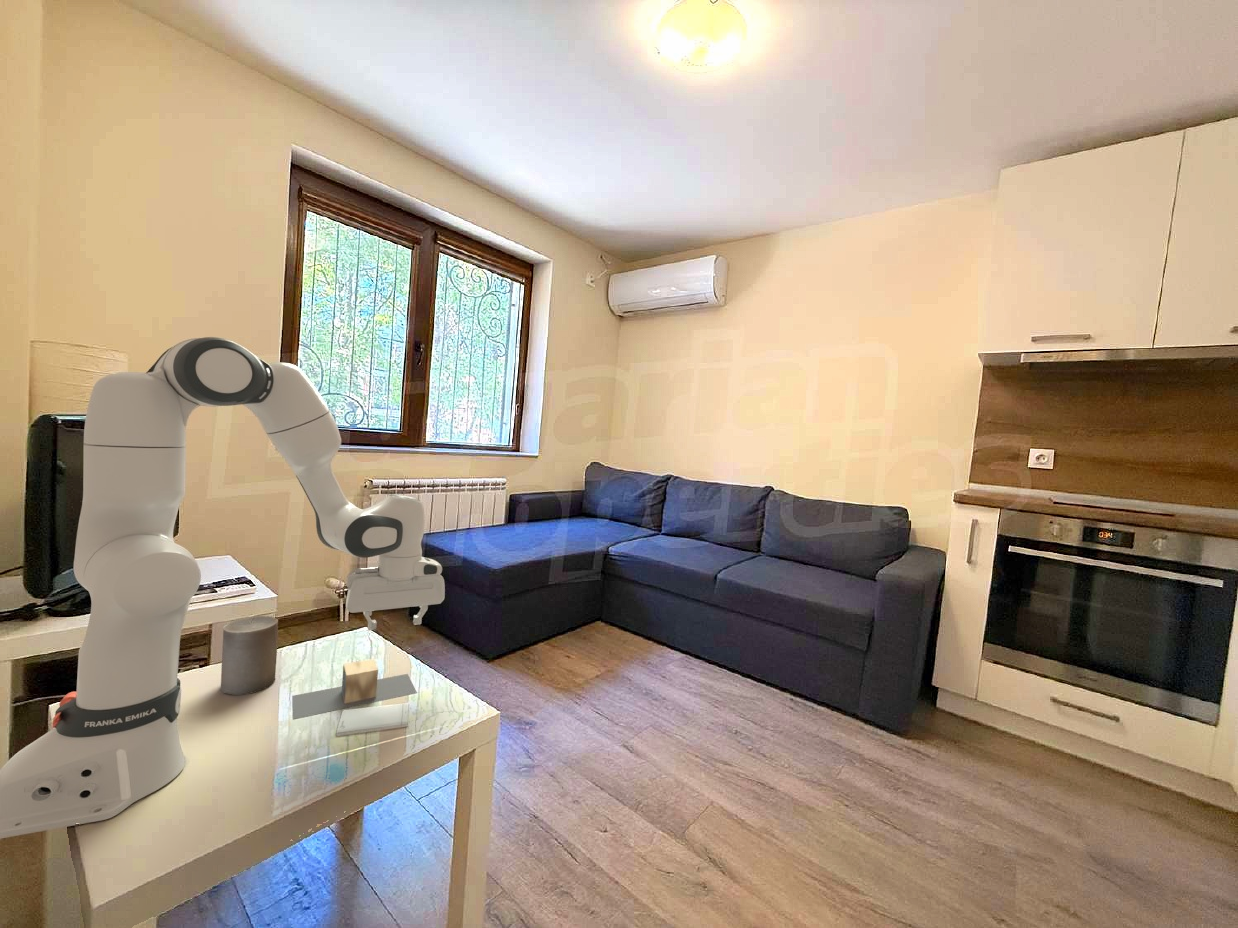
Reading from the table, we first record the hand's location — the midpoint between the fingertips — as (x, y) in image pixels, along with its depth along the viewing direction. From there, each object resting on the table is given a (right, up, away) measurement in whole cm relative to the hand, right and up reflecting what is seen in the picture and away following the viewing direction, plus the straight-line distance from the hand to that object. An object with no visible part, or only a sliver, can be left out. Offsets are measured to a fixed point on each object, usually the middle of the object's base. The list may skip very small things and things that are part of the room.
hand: (395, 626), depth 107 cm
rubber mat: (-7, -14, -4) cm, 16 cm away
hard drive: (+2, -16, -12) cm, 20 cm away
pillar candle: (-31, -12, -3) cm, 34 cm away
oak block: (-4, -11, -2) cm, 11 cm away
